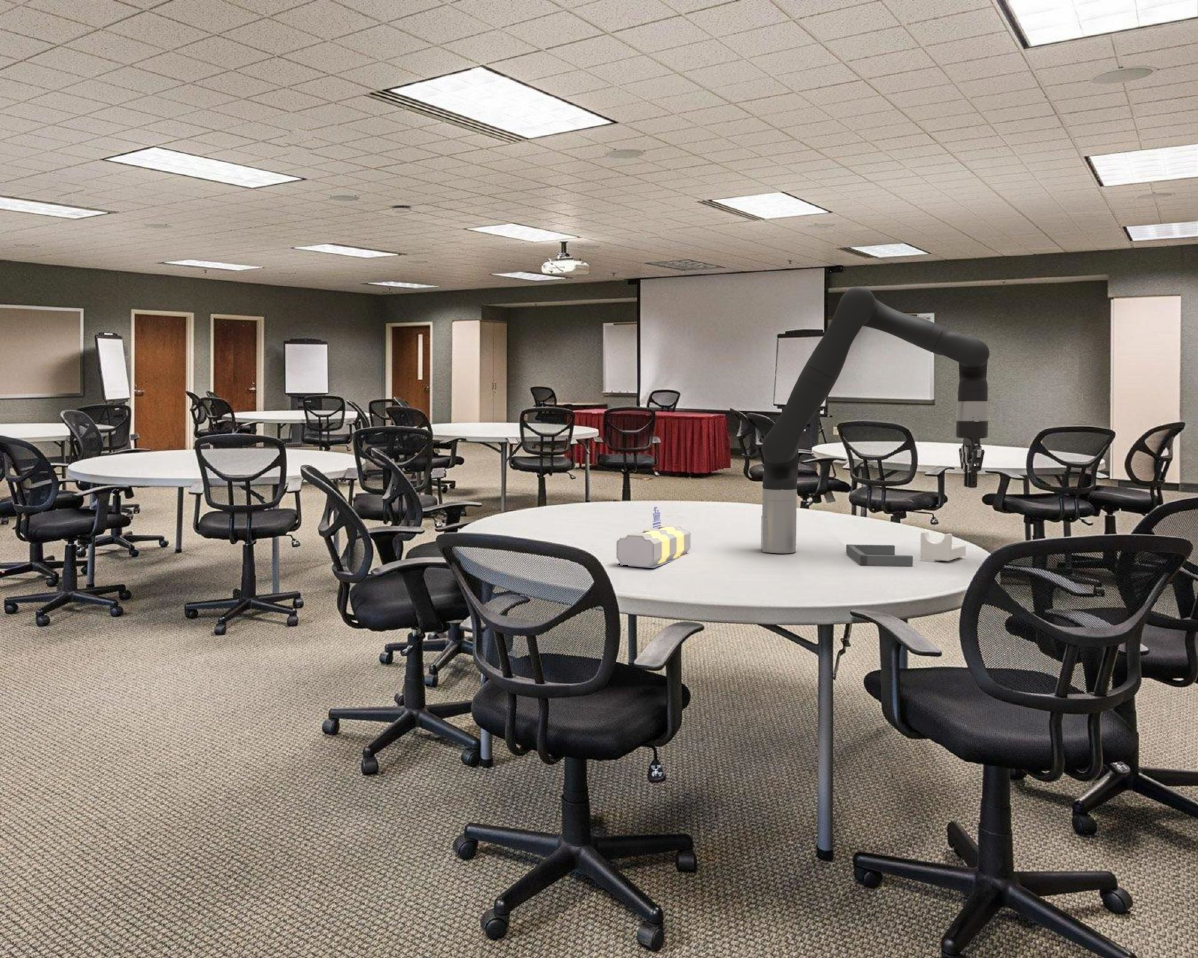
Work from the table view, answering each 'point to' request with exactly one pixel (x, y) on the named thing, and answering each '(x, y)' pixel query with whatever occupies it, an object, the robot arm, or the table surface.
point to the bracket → (940, 549)
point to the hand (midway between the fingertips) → (970, 487)
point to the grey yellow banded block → (653, 545)
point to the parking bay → (877, 555)
